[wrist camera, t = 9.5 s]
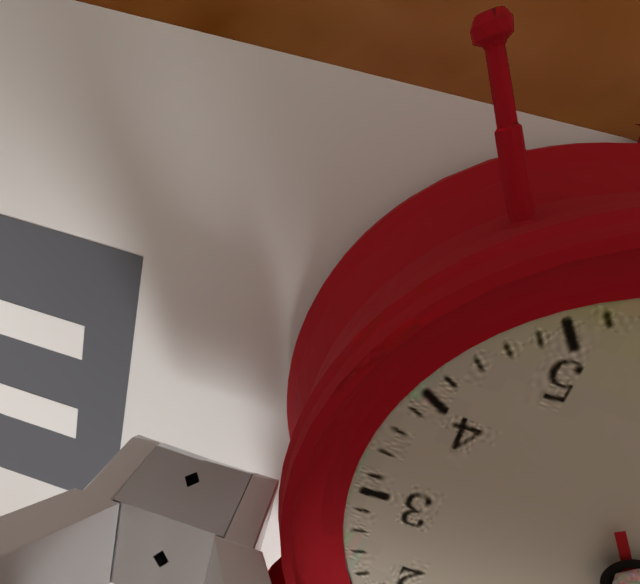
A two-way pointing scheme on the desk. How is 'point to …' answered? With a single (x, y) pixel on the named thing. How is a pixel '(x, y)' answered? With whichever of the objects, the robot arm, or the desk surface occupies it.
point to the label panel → (186, 230)
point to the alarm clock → (476, 376)
